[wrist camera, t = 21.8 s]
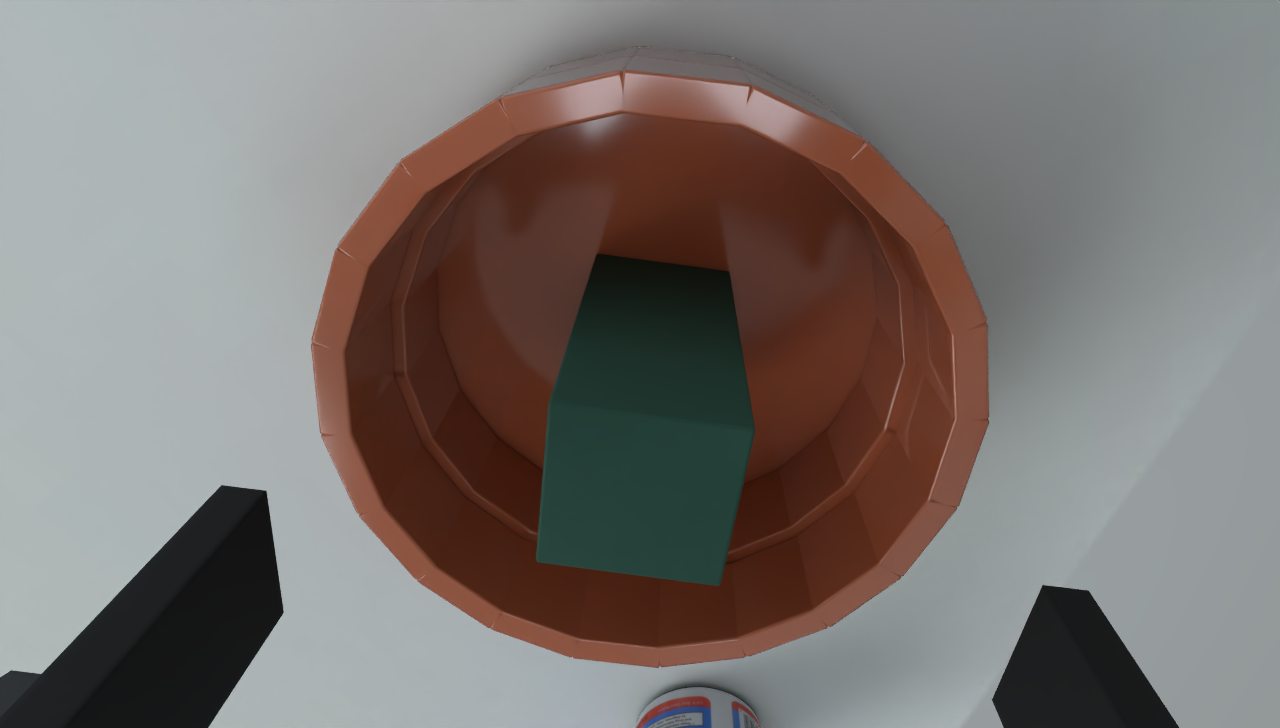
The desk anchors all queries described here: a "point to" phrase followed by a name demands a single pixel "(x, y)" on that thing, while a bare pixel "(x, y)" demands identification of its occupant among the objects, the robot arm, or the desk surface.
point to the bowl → (543, 321)
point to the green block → (647, 425)
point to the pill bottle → (697, 710)
